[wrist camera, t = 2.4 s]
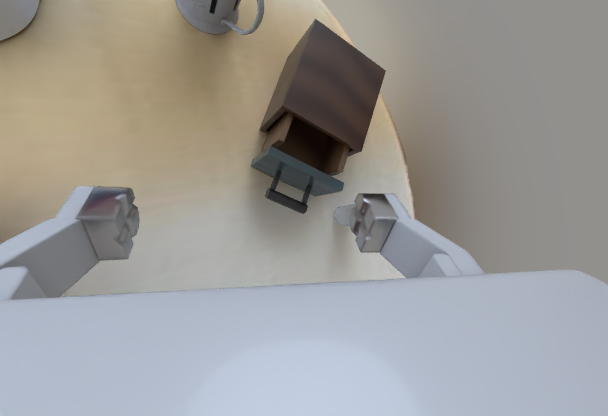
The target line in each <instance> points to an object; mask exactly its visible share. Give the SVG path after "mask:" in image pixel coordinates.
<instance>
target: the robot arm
mask: <svg viewBox="0 0 608 416" xmlns="http://www.w3.org/2000/svg"><path fill="white" fill-rule="evenodd" d="M39 2H40V0H0V41H1V40H4V39H7V38H9V37H11V36H13V35H15V34H17V33H19V32H20V31H21V30H23V29H24V28H25V27H26V26H27V25H28V24H29V23H30V22H31V21H32V19H33V18H34V16H35V14H36V12H37V9H38V5H39ZM134 199H135V196H134V193H133V190H132V189H131V188H124V187H101V186H97V187H95V186H78V187H76V188H75V189H74V190H73V192H72V193H71V195H70V196H69V197H68V199H67V200H66V202H65V203H64V205H63V206H62V208H61V209H60V211H59V212H58V214H57V215H56V217H55V218H54V219H47V220H46V221H44V222H42V223H40V224H38V225H36V226H34V227H32V228H30V229H28V230H26V231H24V232H22V233H20V234H19V235H17V236H15V237H13V238H11V239H9V240H7V241H5V242H3V243H1V244H0V416H608V285H607V284H605V283H604V282H602V281H600V280H598V279H596V278H594V277H592V276H590V275H588V274H585V273H583V272H581V271H577V270H553V271H534V272H516V273H499V274H485V273H484V272H483V271H482V270H481V268H480V267H479V266H478V264H477V263H476V262H475V260H474V259H473V258H472V257H471V255H470V254H469V253H468V252H467V251H466V250H464V249H463V248H461V247H459V246H458V245H456V244H454V243H453V242H451V241H450V240H448V239H446V238H445V237H443V236H442V235H440V234H438V233H437V232H435V231H433V230H432V229H430V228H429V227H427V226H425V225H424V224H422V223H421V222H419V221H417V220H416V219H412V218H411V217H410V215H409V214H408V212H407V211H406V209H405V208H404V206H403V205H402V203H401V202H400V200H399V199H398V197H397V196H396V195H395V194H393V193H382V194H366V193H359V194H358V195H357V196H356V199H355V203H356V206H355V207H354V208H353V209H352V210H351V213H350V218H349V224H350V228H351V231H352V232H353V233H354V234H355V235H357V237H356V243H357V245H358V247H359V250H360V252H380V254H381V255H382V256H383V257H384V258H385V259H387V260H388V261H389V262H390V263H391V264H392V265H393V266H394V267H395V268H396V269H397V270H398V271H399V272H401V273H402V274H403V275H404V276H405V277H406V278H404V279H386V280H368V281H349V282H330V283H311V284H292V285H274V286H256V287H237V288H219V289H200V290H182V291H163V292H145V293H126V294H108V295H89V296H71V297H60V296H61V295H62V294H63V293H64V292H65V291H66V290H68V289H69V288H70V287H71V286H72V285H73V284H74V283H76V282H77V281H78V280H79V279H80V278H81V277H82V276H84V275H85V274H86V273H87V272H88V271H89V270H90V269H92V268H93V267H94V266H95V265H96V264H97V263H98V262H99V261H101V260H121V259H128V258H129V255H130V252H131V249H132V246H133V241H132V237H134V236H135V235H136V234H137V232H138V229H139V220H140V219H139V211H138V208H137V207H136V206H135V205H134V204H133V202H134Z"/></svg>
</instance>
